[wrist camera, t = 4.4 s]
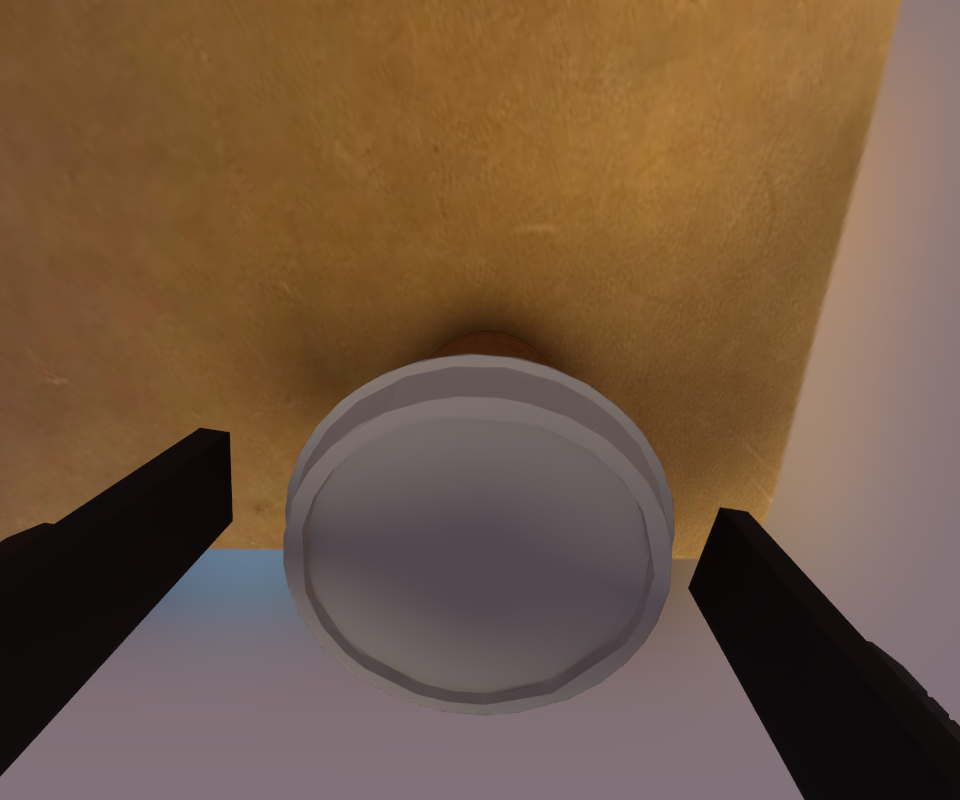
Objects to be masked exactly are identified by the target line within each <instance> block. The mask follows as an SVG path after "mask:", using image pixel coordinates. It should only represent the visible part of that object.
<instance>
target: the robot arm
mask: <svg viewBox="0 0 960 800" xmlns="http://www.w3.org/2000/svg"><path fill="white" fill-rule="evenodd" d="M232 521H233V514H232V485H231V456H230V432H224V431H218V430H211V429H205V428H199V429H198V430H196V431H195V432H193V433H192V434H190V435H189V436H187V437H185V438H184V439H182V440H181V441H179V442H178V443H176V444H175V445H173V446H172V447H170V448H169V449H167V450H166V451H164V452H163V453H161V454H160V455H158V456H157V457H155V458H154V459H152V460H151V461H149V462H148V463H146V464H145V465H143V466H142V467H140V468H139V469H137V470H135V471H134V472H132V473H131V474H129V475H128V476H126V477H125V478H123V479H122V480H120V481H119V482H117V483H116V484H114V485H113V486H111V487H110V488H108V489H107V490H105V491H104V492H102V493H101V494H99V495H98V496H96V497H95V498H93V499H92V500H90V501H89V502H87V503H85V504H84V505H82V506H81V507H79V508H78V509H76V510H75V511H73V512H72V513H70V514H69V515H67V516H66V517H64V518H63V519H61V520H60V521H58V522H57V523H55V524H50V523H42V524H40V525H37V526H35V527H32V528H30V529H27V530H25V531H23V532H20V533H18V534H15V535H13V536H10V537H8V538H6V539H4V540H3V541H1V542H0V776H1V775H2V774H3V773H4V772H5V771H6V770H7V769H8V768H9V766H10V765H11V764H12V763H13V762H14V761H15V760H16V759H17V758H18V756H19V755H20V754H21V753H22V752H23V751H24V750H25V749H26V748H27V747H28V746H29V744H30V743H31V742H32V741H33V740H34V739H35V738H36V737H37V736H38V735H39V733H40V732H41V731H42V730H43V729H44V728H45V727H46V726H47V725H48V723H49V722H50V721H51V720H52V719H53V718H54V717H55V716H56V715H57V714H58V713H59V711H60V710H61V709H62V708H63V707H64V706H65V705H66V704H67V703H68V702H69V700H70V699H71V698H72V697H73V696H74V695H75V694H76V693H77V692H78V690H79V689H80V688H81V687H82V686H83V685H84V684H85V683H86V681H88V680H89V678H90V677H91V676H92V675H93V674H94V673H95V672H96V671H97V669H98V668H99V667H100V666H101V665H102V664H103V663H104V662H105V661H106V660H107V659H108V657H109V656H110V655H111V654H112V653H113V652H114V651H115V650H116V649H117V648H118V646H119V645H120V644H121V643H122V642H123V641H124V640H125V639H126V638H127V637H128V635H129V634H130V633H131V632H132V631H133V630H134V629H135V628H136V627H137V625H139V623H140V622H141V621H142V620H143V619H144V618H145V617H146V616H147V615H148V614H149V612H150V611H151V610H152V609H153V608H154V607H155V606H156V605H157V604H158V603H159V601H160V600H161V599H162V598H163V597H164V596H165V595H166V594H167V593H168V592H169V590H170V589H171V588H172V587H173V586H174V585H175V584H176V583H177V582H178V581H179V579H180V578H181V577H182V576H183V575H184V574H185V573H186V572H187V571H188V570H189V568H190V567H191V566H192V565H193V564H194V563H195V562H196V561H197V560H198V559H199V557H200V556H201V555H202V554H203V553H204V552H205V551H206V550H207V549H208V548H209V547H210V545H211V544H212V543H213V542H214V541H215V540H216V539H217V538H218V537H219V536H220V534H221V533H222V532H223V531H224V530H225V529H226V528H227V527H228V526H229V525H230V523H231V522H232ZM688 589H689V590H690V592H691V594H692V596H693V598H694V600H695V602H696V603H697V605H698V607H699V609H700V611H701V612H702V614H703V616H704V618H705V620H706V621H707V623H708V625H709V627H710V629H711V631H712V632H713V634H714V636H715V638H716V640H717V642H718V643H719V645H720V647H721V649H722V651H723V652H724V654H725V656H726V657H727V660H728V662H729V663H730V665H731V667H732V669H733V671H734V672H735V674H736V676H737V678H738V679H739V681H740V683H741V685H742V687H743V689H744V691H745V692H746V694H747V696H748V698H749V700H750V702H751V703H752V705H753V707H754V709H755V711H756V712H757V714H758V716H759V718H760V720H761V722H762V723H763V725H764V727H765V729H766V731H767V732H768V734H769V736H770V738H771V740H772V742H773V743H774V745H775V747H776V749H777V750H778V752H779V754H780V756H781V758H782V760H783V762H784V763H785V765H786V767H787V769H788V771H789V772H790V774H791V776H792V778H793V780H794V781H795V783H796V785H797V787H798V789H799V791H800V792H801V794H802V796H803V798H804V800H960V726H959V725H958V724H957V723H956V722H955V721H954V720H950V718H949V714H948V713H947V712H946V711H945V710H944V709H943V708H942V707H941V706H940V705H939V704H938V703H937V701H936V700H934V698H932V697H929V696H928V695H927V691H926V690H925V689H924V688H923V687H922V686H921V685H920V684H919V682H918V681H917V680H916V679H915V678H914V677H913V676H912V675H911V674H910V673H909V672H908V671H907V670H906V669H905V668H904V667H903V666H902V665H901V664H900V663H898V662H897V661H896V660H894V659H893V658H892V657H890V656H889V655H888V654H887V653H885V652H884V651H883V650H882V649H880V648H879V647H878V646H876V645H875V644H874V643H872V642H869V641H866V640H865V639H864V638H863V637H862V636H861V635H860V633H859V632H858V631H857V630H856V629H855V628H854V627H853V626H852V625H851V624H850V623H849V621H848V620H847V619H846V618H845V617H844V616H843V615H842V614H841V613H840V612H839V611H838V609H837V608H836V607H835V606H834V605H833V604H832V603H831V602H830V601H829V600H828V599H827V597H826V596H825V595H824V594H823V593H822V592H821V591H820V590H819V589H818V588H817V587H816V586H815V585H814V583H813V582H812V581H811V580H810V579H809V578H808V577H807V576H806V575H805V574H804V572H803V571H802V570H801V569H800V568H799V567H798V566H797V565H796V564H795V563H794V561H793V560H792V559H791V558H790V557H789V556H788V555H787V554H786V553H785V552H784V551H783V550H782V548H780V546H779V545H778V544H777V543H776V542H775V541H774V540H773V539H772V537H771V536H769V534H768V533H767V532H766V531H765V530H764V529H763V528H762V527H761V525H760V524H759V523H758V522H757V521H756V520H755V519H754V518H753V517H752V516H751V515H750V513H749V512H747V511H741V510H734V509H727V508H721V507H720V509H719V511H718V514H717V516H716V519H715V521H714V524H713V527H712V529H711V532H710V534H709V537H708V539H707V542H706V544H705V547H704V549H703V552H702V554H701V557H700V560H699V562H698V565H697V567H696V570H695V572H694V575H693V577H692V580H691V582H690V585H689V587H688Z"/></svg>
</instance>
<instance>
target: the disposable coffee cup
mask: <svg viewBox="0 0 960 800" xmlns="http://www.w3.org/2000/svg"><path fill="white" fill-rule="evenodd" d="M673 540H674V508H673V498H672V495H671V492H670V489H669V486H668V483H667V479H666V476H665V473H664V470H663V467H662V464H661V462H660V460H659V459H658V457H657V455H656V454H655V452H654V450H653V449H652V447H651V445H650V444H649V442H648V441H647V439H646V437H645V436H644V434H643V432H642V431H641V430H640V429H639V428H638V427H637V425H636V424H635V423H634V422H633V421H632V420H631V419H630V417H628V416H627V415H626V414H625V413H624V412H623V411H622V410H621V409H620V408H619V407H618V406H617V405H615V404H614V403H613V402H611V401H610V400H609V399H607V398H606V397H605V396H604V395H602V394H601V393H600V392H598V391H597V390H596V389H595V388H593V387H592V386H590V385H588V384H586V383H584V382H582V381H580V380H578V379H576V378H574V377H572V376H569V375H567V374H565V373H563V372H561V371H559V370H557V369H555V368H553V367H552V366H551V365H550V364H549V363H548V362H547V361H545V360H544V358H542V357H541V356H540V355H539V354H538V353H537V352H536V351H535V350H534V349H533V348H532V347H531V346H529V345H528V344H526V343H525V342H524V341H522V340H520V339H518V338H515V337H513V336H511V335H507V334H503V333H499V332H485V331H483V332H477V333H471V334H467V335H464V336H461V337H458V338H456V339H454V340H453V341H451V342H450V343H448V344H446V345H445V346H444V347H442V348H441V349H440V350H438V351H437V352H435V353H434V354H433V355H431V356H430V357H428V358H427V359H425V360H421V361H418V362H415V363H412V364H409V365H406V366H403V367H401V368H398V369H395V370H392V371H389V372H387V373H385V374H383V375H381V376H380V377H378V378H376V379H374V380H372V381H370V382H368V383H367V384H365V385H363V386H361V387H360V388H358V389H357V390H355V391H354V392H352V393H351V394H350V395H348V396H347V397H346V398H344V399H343V400H342V401H340V402H339V403H338V404H337V406H336V407H335V408H334V409H333V410H332V411H331V412H330V413H329V414H328V415H327V416H326V417H325V418H324V419H323V420H322V421H321V422H320V423H319V424H318V426H317V427H316V428H315V430H314V431H313V433H312V434H311V436H310V438H309V439H308V441H307V442H306V444H305V445H304V447H303V449H302V450H301V452H300V454H299V457H298V460H297V463H296V466H295V469H294V471H293V474H292V477H291V480H290V483H289V487H288V495H287V503H286V529H285V532H284V568H285V573H286V578H287V583H288V587H289V590H290V592H291V595H292V598H293V600H294V602H295V605H296V608H297V611H298V613H299V615H300V617H301V618H302V619H303V621H304V622H305V624H306V625H307V627H308V628H309V630H310V631H311V632H312V634H313V635H314V637H315V638H316V639H317V641H318V643H319V644H320V646H321V647H322V648H323V649H324V650H326V651H327V652H328V653H329V654H330V655H331V656H332V657H333V658H335V659H336V660H337V661H338V662H339V663H340V664H341V665H342V666H344V667H345V668H346V669H347V670H348V671H349V672H350V673H351V674H353V675H354V676H355V677H357V678H359V679H361V680H363V681H365V682H367V683H368V684H370V685H372V686H374V687H376V688H378V689H380V690H382V691H383V692H385V693H387V694H389V695H391V696H393V697H395V698H397V699H400V700H403V701H407V702H410V703H414V704H418V705H421V706H424V707H428V708H432V709H435V710H439V711H443V712H449V713H462V714H475V715H496V714H509V713H519V712H523V711H526V710H530V709H534V708H537V707H541V706H545V705H548V704H552V703H556V702H560V701H563V700H567V699H570V698H572V697H574V696H576V695H578V694H580V693H582V692H584V691H586V690H587V689H590V688H591V687H593V686H595V685H597V684H599V683H601V682H602V681H604V680H605V679H606V678H608V677H609V676H610V675H611V674H613V673H614V672H615V671H616V670H618V669H619V668H620V667H622V666H623V665H624V664H626V663H627V662H628V660H629V659H630V658H631V657H632V656H633V655H634V654H635V653H636V651H637V650H638V649H639V648H640V647H641V646H642V645H643V644H644V643H645V641H646V639H647V638H648V636H649V635H650V633H651V631H652V630H653V628H654V626H655V625H656V623H657V621H658V619H659V616H660V614H661V611H662V608H663V606H664V603H665V601H666V598H667V596H668V593H669V590H670V577H671V560H672V545H673Z"/></svg>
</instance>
